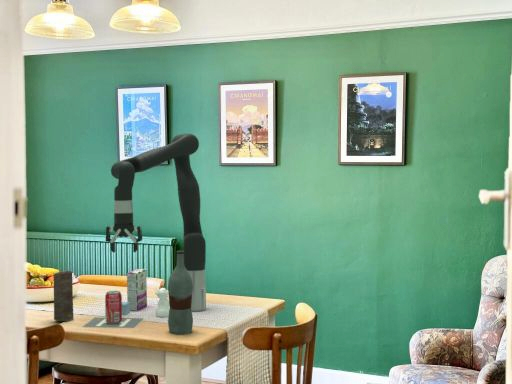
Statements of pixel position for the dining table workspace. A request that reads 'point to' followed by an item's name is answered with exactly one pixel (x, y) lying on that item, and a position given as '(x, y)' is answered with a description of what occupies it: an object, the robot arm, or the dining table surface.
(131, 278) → the candy bar box
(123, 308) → the blue block
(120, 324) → the letter board
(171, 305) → the bottle
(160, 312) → the seated beast figurine
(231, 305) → the dining table surface
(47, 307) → the dining table surface
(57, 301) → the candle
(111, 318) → the soda can
